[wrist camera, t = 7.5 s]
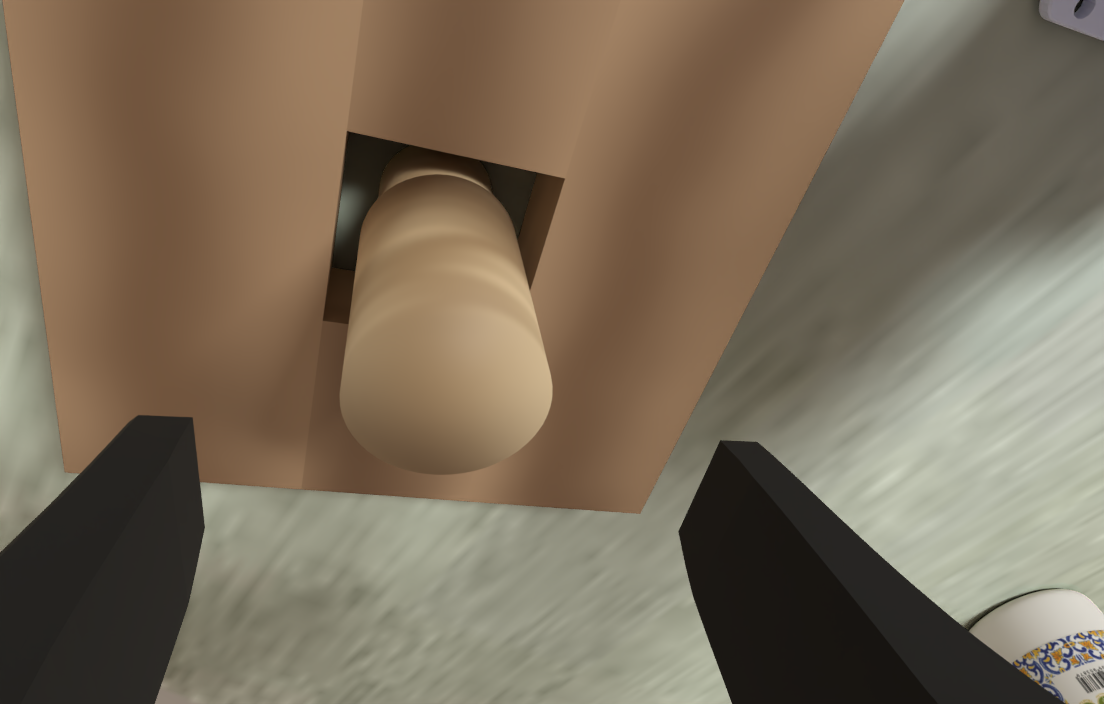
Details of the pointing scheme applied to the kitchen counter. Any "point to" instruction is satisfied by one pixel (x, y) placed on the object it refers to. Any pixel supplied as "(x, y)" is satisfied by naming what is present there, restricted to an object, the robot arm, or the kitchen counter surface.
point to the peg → (441, 323)
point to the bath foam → (1051, 642)
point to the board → (434, 123)
